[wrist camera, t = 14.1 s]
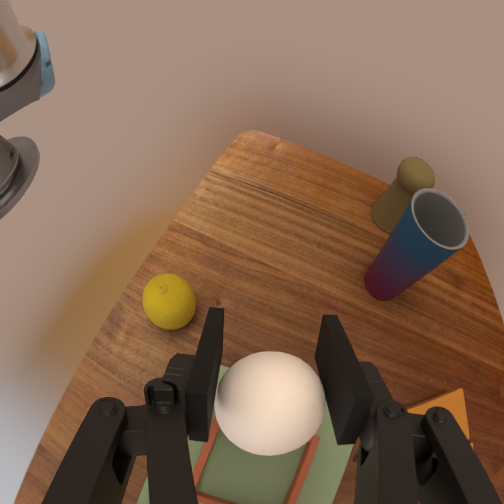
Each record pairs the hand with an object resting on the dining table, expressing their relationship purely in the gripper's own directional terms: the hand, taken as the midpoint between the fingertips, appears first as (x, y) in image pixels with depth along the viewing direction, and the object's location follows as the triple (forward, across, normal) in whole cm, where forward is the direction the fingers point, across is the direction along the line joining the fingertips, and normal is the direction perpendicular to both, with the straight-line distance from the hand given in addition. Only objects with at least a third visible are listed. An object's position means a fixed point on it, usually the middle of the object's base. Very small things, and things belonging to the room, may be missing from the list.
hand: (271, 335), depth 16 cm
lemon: (+17, -9, -9) cm, 22 cm away
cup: (+21, +16, -5) cm, 27 cm away
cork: (+29, +19, +3) cm, 35 cm away
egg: (0, 0, -5) cm, 5 cm away
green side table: (+7, 0, -19) cm, 20 cm away
